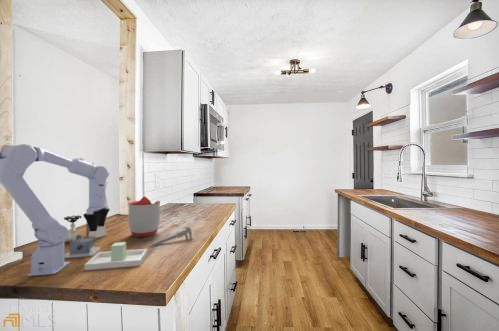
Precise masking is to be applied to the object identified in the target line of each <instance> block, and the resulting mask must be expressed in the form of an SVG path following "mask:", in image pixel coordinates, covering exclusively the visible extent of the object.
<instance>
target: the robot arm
mask: <svg viewBox="0 0 499 331" xmlns="http://www.w3.org/2000/svg"><path fill="white" fill-rule="evenodd" d="M35 162H44V163H48V164H51V165H55V166H58V167H63V168H66V169H67V171H68V172H69V173H70V174H74V175H78V176H80V177H83V178H87V180H88V207H87V209H86V212H85V213H83V218H84V219H85V221H86V224H87V223H88V226H89V229H90V232H92V231H97V227H100V226H104V227H105V225H106V221H107V216H108V214H109V212H110V210H111V209H110V208H109V205H108V202H107V203H105V195H106V191H107V190H106V189H107V186H106V182H107V179H108V177H109V175H110V173H109V172H108V170H107V168H106V167H105V166H101V165H96V163H94V162H92V163H90V162H88V161H85V158H82V157H79V158H74V159H70V158H67V157H64V156H62V155H60V154H58V153H57V154H56V153H53V152H52V151H49V150H46V149H43V148H41V147H36V146H32V145H30V144H27V143H26V144H24V143H22V144H16V145H7V146H5V147H3V148H2V149H1V150H0V185H2V186H3V187H4V188H5V190H6V191H7V192H8V194H9V195H10V196H11V198H12V200H14V202H15V203H16V204H17V206H18V207H19V208H20V209H21V211H22V212H23V214H25V216H26V217H27V218H28V220H29V221H30V222H31V228H32V229H33V231H34V237H35V239H37V240H38V242H37V249H36V250H35V251H34V252H33V253H32V254H31V258H30V272H29V273H28V274H27V276H28V277H33V276H45V275H47V276H48V275H55V274H57V273H58V272H59V271H61V270H63V269H64V268H65V267H67V266H68V265H69V264H70V263H71V262H70V261H65V258H64V255H65V239H66V238H67V236H68V233H69V229H68V228H67V226H65V225H62V224H60V223H59V221H58V220H57V219H56V218H55V217H53V216H52V215H51V214H50V213H49V211H48V210H47V209H46V207H45V206H44V205H43V203H42V202H41V200H40V199H39V198H38V196H37V194H36V193H35V192H34V190H33V189H32V188H31V187H30V185H29V184H28V183H27V180H26V179H25V178H24V175H25V173H26V170H27V169H28V168H29V167H30V166H31V165H32V164H33V163H35ZM106 196H107V195H106ZM105 208H107V209H105ZM105 220H106V221H105ZM104 224H105V225H104Z"/></svg>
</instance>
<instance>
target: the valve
mask: <svg viewBox="0 0 499 331" xmlns="http://www.w3.org/2000/svg"><path fill="white" fill-rule="evenodd" d="M79 219H82V215H71V216H65V217H63V220H65V221H67V222H69V223H71V224H70V229H68V236H67V238H66V239H65V240H64V242H69V243H70V242H72V241H74V240H76V239H83V238H82V234H81V233H77V231H78V229H76V222H77V221H78V220H79Z"/></svg>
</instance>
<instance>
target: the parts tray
mask: <svg viewBox="0 0 499 331" xmlns="http://www.w3.org/2000/svg"><path fill="white" fill-rule="evenodd" d="M147 255H148V248H142V249H141V248H140V249H126V258H125V260H124V261H112V262H111V250H109V251H98V252H97V253H95V254H94V255H93V256H92V257H91V258H90V259H89V260H88V261H87V262H85V263H84V271H93V270H104V269H116V268H118V269H119V268H128V267H139V266H142V264H143V262H144V260H145V258H146V257H147Z"/></svg>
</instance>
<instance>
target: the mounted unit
mask: <svg viewBox="0 0 499 331" xmlns="http://www.w3.org/2000/svg"><path fill="white" fill-rule="evenodd" d="M95 239H96V238H82V239H76V240H74V241H72V242H69V252H67V253H65V254H64V259H69V258H82V257H94V256H95V255H96V254H97V253H98V252H100V251H101V247H102V246H96V245H95V244H96V242H95V241H96V240H95Z"/></svg>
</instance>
